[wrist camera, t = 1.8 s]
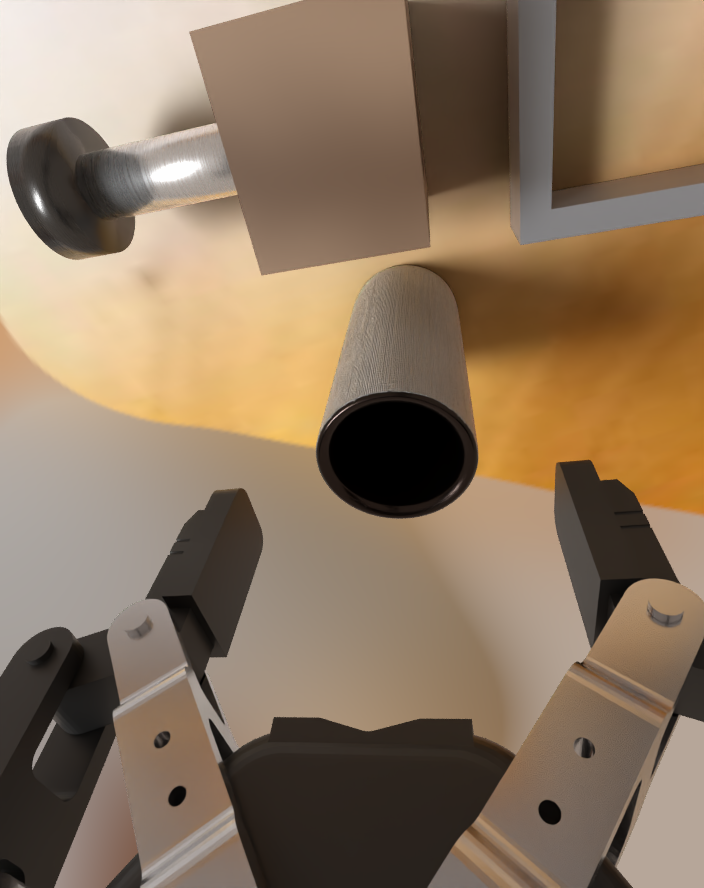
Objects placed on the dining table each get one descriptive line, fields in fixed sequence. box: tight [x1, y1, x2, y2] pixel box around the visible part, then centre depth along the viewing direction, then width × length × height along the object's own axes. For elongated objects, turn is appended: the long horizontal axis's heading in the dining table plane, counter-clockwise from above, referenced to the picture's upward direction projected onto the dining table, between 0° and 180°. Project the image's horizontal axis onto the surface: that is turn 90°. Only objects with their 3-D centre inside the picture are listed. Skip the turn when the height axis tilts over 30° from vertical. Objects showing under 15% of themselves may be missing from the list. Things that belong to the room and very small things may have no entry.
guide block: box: [190, 0, 430, 275], centre depth 16 cm, size 6×5×7 cm
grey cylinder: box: [316, 265, 478, 519], centre depth 19 cm, size 4×4×10 cm
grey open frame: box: [506, 0, 704, 245], centre depth 16 cm, size 9×9×2 cm
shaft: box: [7, 118, 238, 260], centre depth 16 cm, size 4×10×4 cm, turn 101°
